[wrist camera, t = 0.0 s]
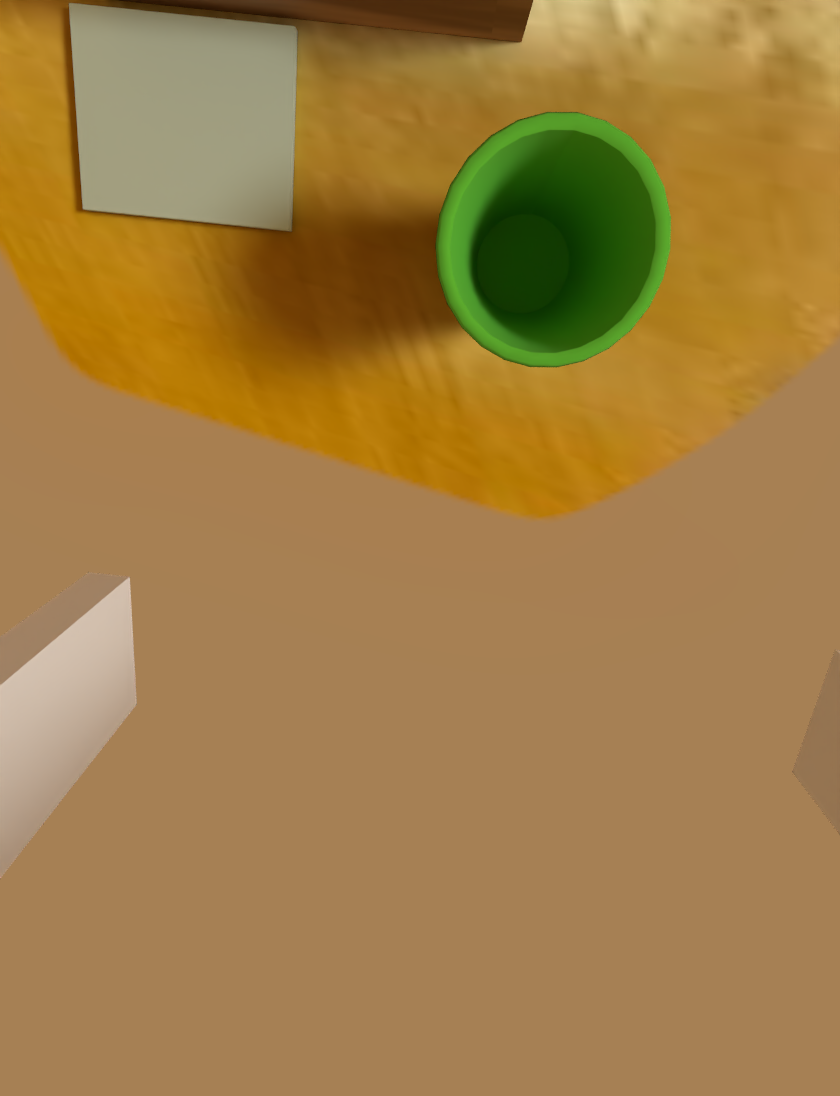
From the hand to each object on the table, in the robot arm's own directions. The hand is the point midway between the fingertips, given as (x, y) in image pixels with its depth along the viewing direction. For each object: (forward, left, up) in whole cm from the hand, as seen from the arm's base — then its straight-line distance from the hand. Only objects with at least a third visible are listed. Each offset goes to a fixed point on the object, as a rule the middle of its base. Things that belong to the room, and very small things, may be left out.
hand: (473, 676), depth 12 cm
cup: (-9, +3, -28) cm, 30 cm away
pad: (-14, -15, -28) cm, 35 cm away
